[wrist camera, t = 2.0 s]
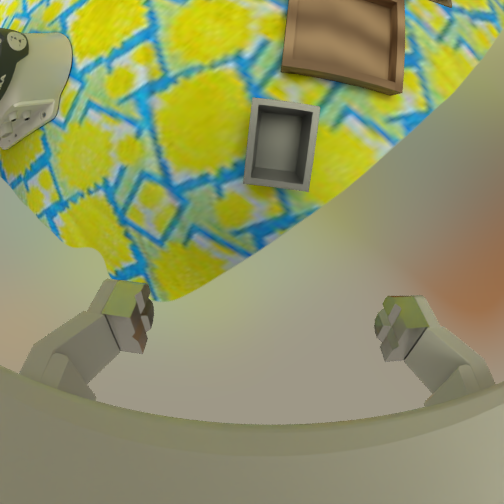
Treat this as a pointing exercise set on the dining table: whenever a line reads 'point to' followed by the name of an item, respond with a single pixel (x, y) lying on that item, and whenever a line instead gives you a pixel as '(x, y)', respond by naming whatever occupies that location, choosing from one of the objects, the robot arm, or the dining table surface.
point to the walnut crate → (347, 42)
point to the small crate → (281, 144)
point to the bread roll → (444, 2)
